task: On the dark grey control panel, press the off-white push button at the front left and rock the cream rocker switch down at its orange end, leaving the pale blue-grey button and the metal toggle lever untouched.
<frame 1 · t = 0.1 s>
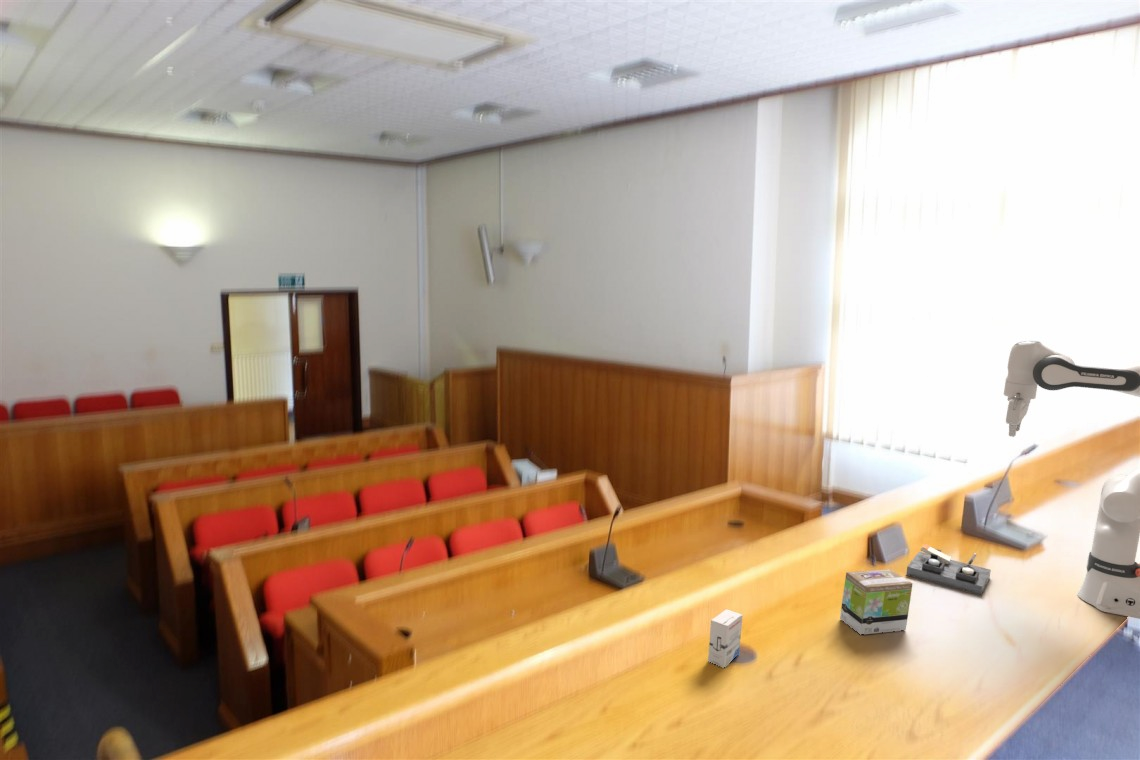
hand: (1013, 433, 246), 48 cm above the table, fingers open, 8 cm apart
button a: (967, 571, 242), point 5 cm above the table, slide at 0.0 cm
button b: (933, 562, 248), point 5 cm above the table, slide at 0.0 cm
toggle lever: (970, 562, 249), point 5 cm above the table, hinge at -20.0°
rocker: (935, 555, 255), point 5 cm above the table, hinge at -15.0°
panel: (947, 576, 250), on the table
tea box: (872, 626, 216), on the table
ink box: (723, 659, 196), on the table
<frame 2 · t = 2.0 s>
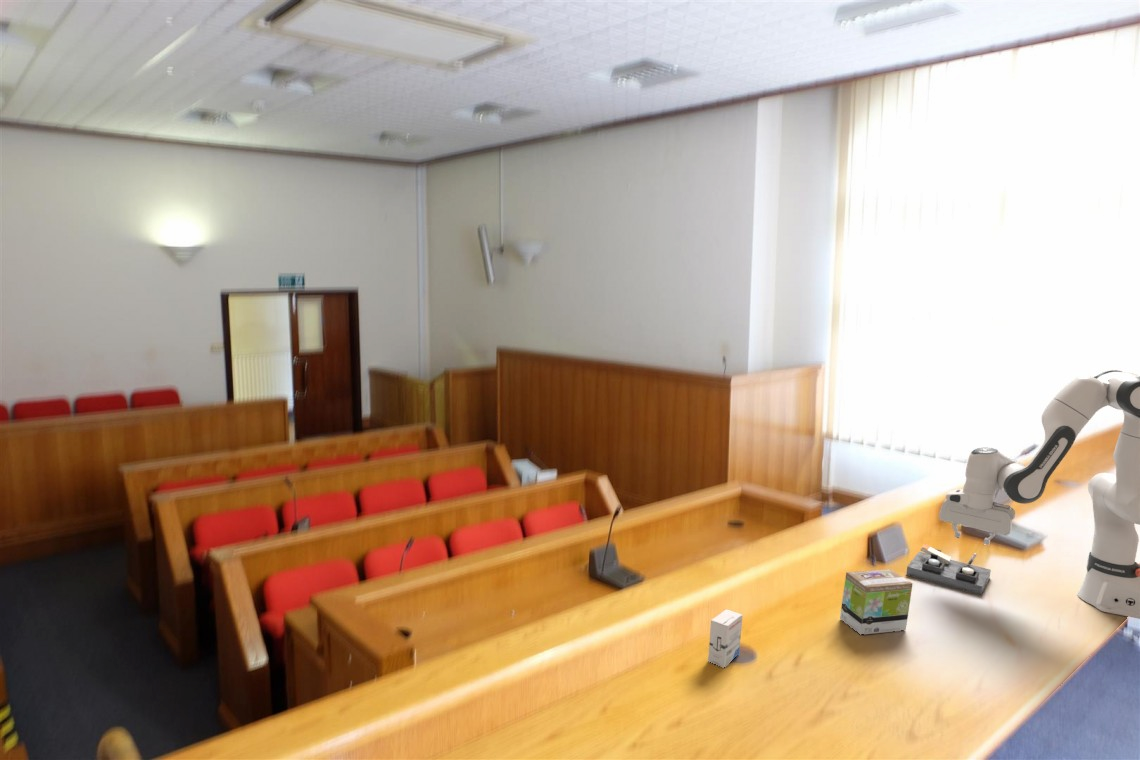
hand: (971, 540, 241), 15 cm above the table, fingers open, 7 cm apart
nothing on the table moved.
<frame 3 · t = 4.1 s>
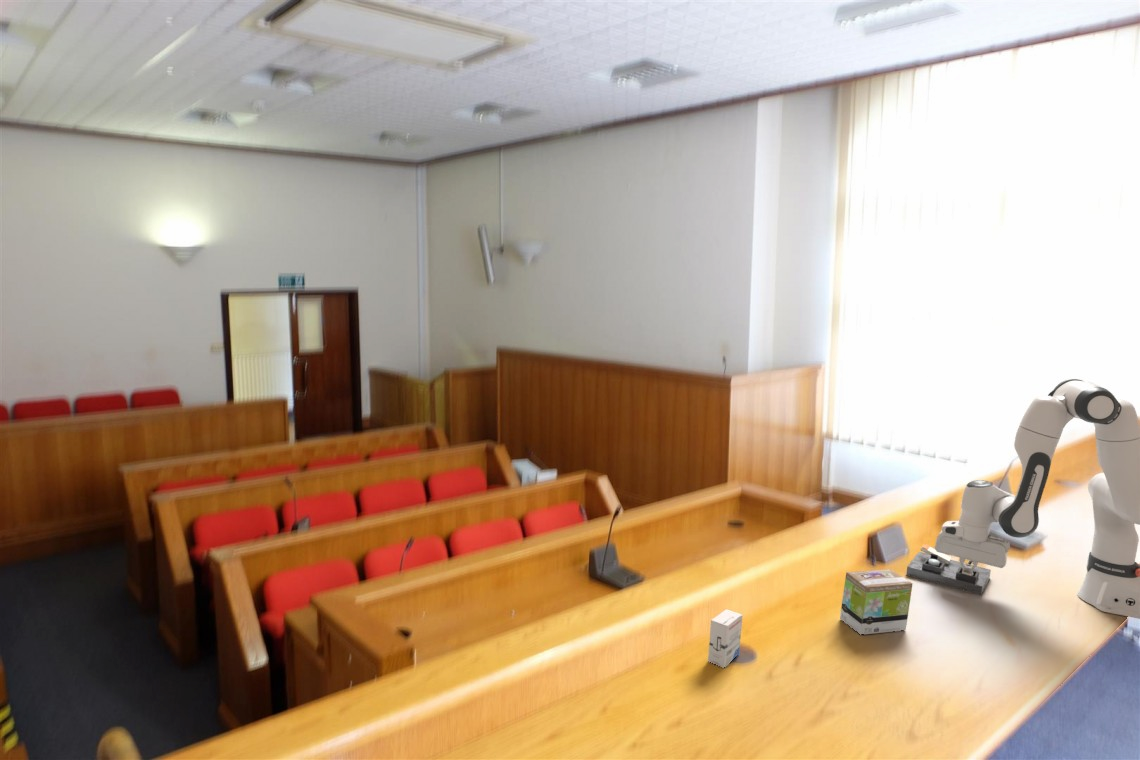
hand: (967, 572, 242), 5 cm above the table, fingers closed, pressing on button a
button a: (967, 574, 243), point 4 cm above the table, slide at 1.0 cm, touching gripper
everything else where it was.
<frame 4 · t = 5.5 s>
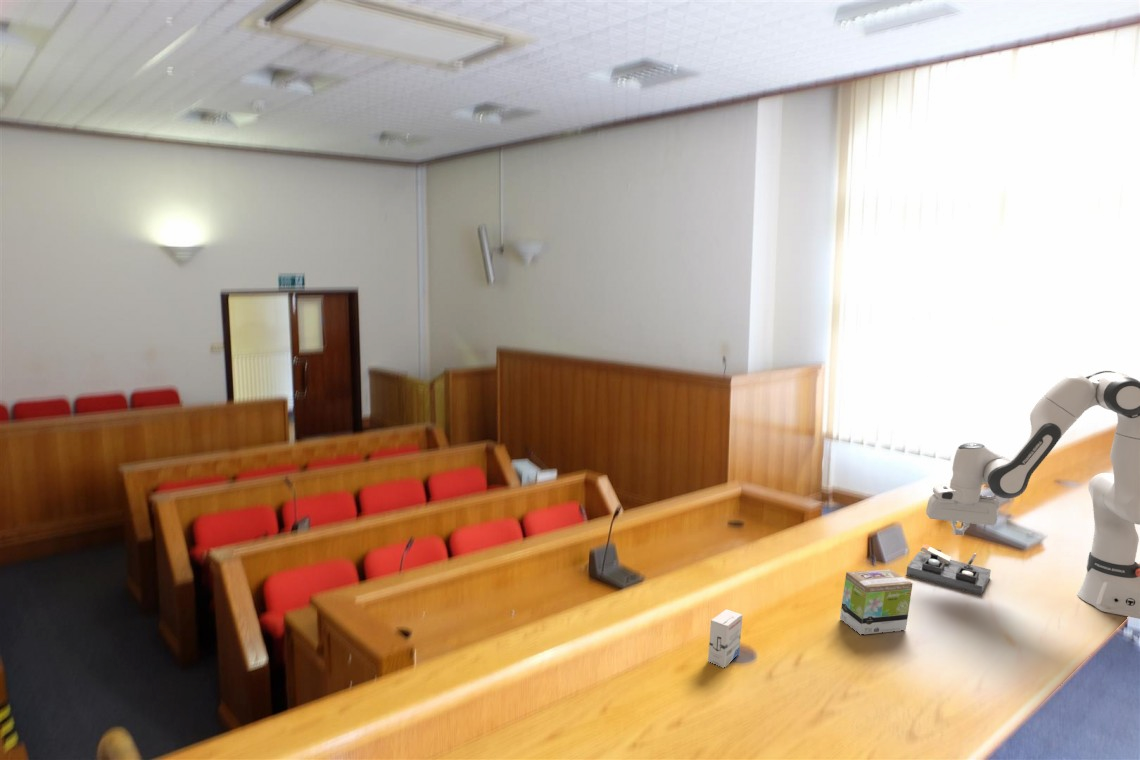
hand: (958, 534, 244), 16 cm above the table, fingers closed
button a: (967, 574, 243), point 4 cm above the table, slide at 1.1 cm
everything else where it was.
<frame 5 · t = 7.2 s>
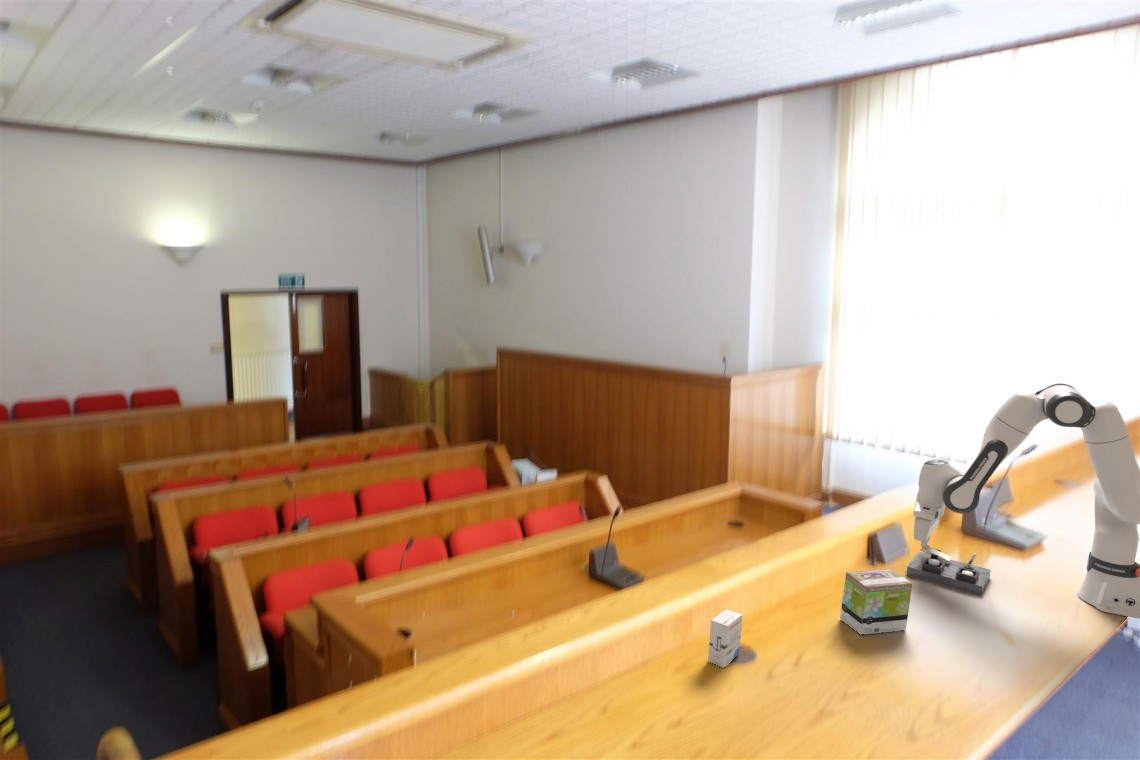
hand: (924, 546, 257), 7 cm above the table, fingers closed, pressing on rocker
rocker: (935, 555, 255), point 5 cm above the table, hinge at -14.7°, touching gripper
everything else where it was.
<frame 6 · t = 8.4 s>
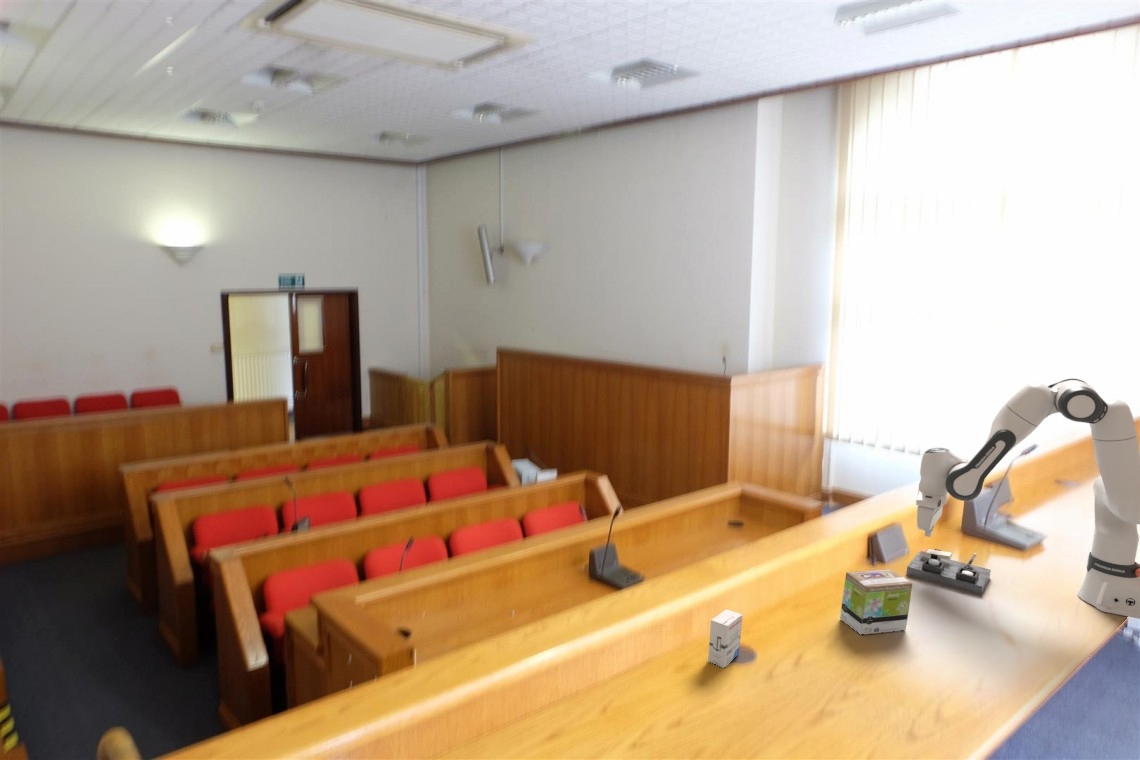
hand: (928, 535, 256), 11 cm above the table, fingers closed
rocker: (935, 555, 255), point 5 cm above the table, hinge at 6.1°
everything else where it was.
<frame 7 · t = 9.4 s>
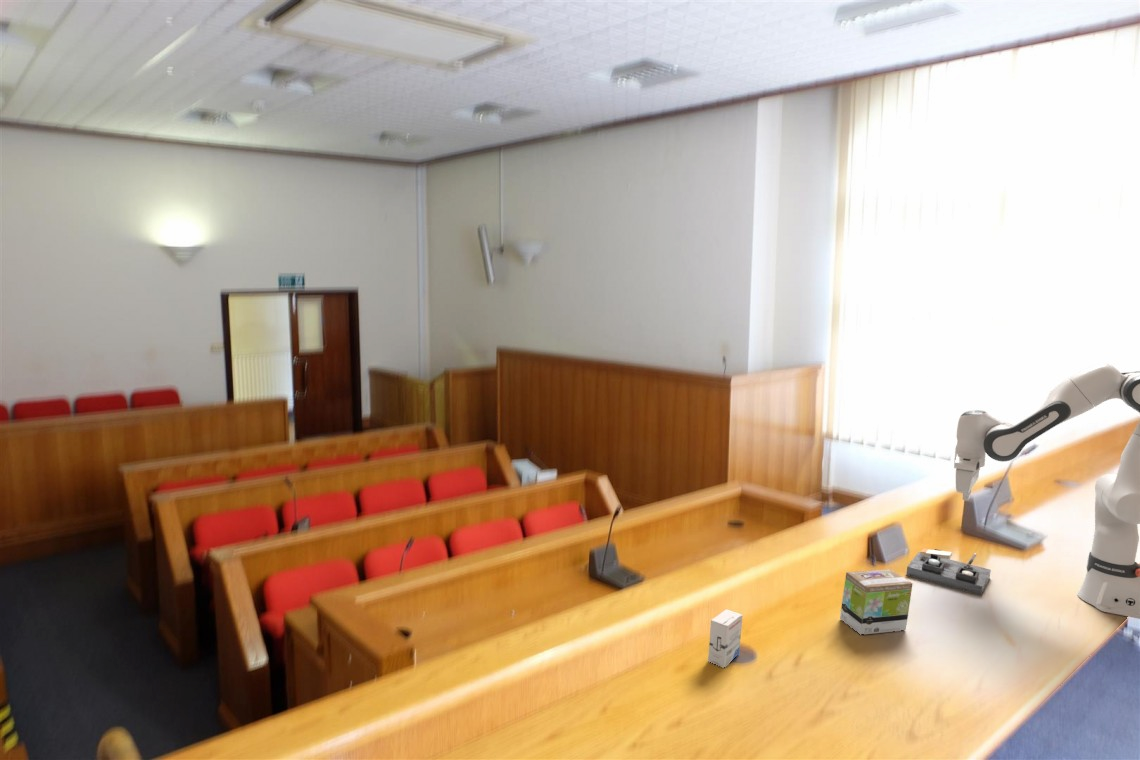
hand: (966, 499, 254), 24 cm above the table, fingers closed
rocker: (936, 555, 255), point 5 cm above the table, hinge at 9.0°
everything else where it was.
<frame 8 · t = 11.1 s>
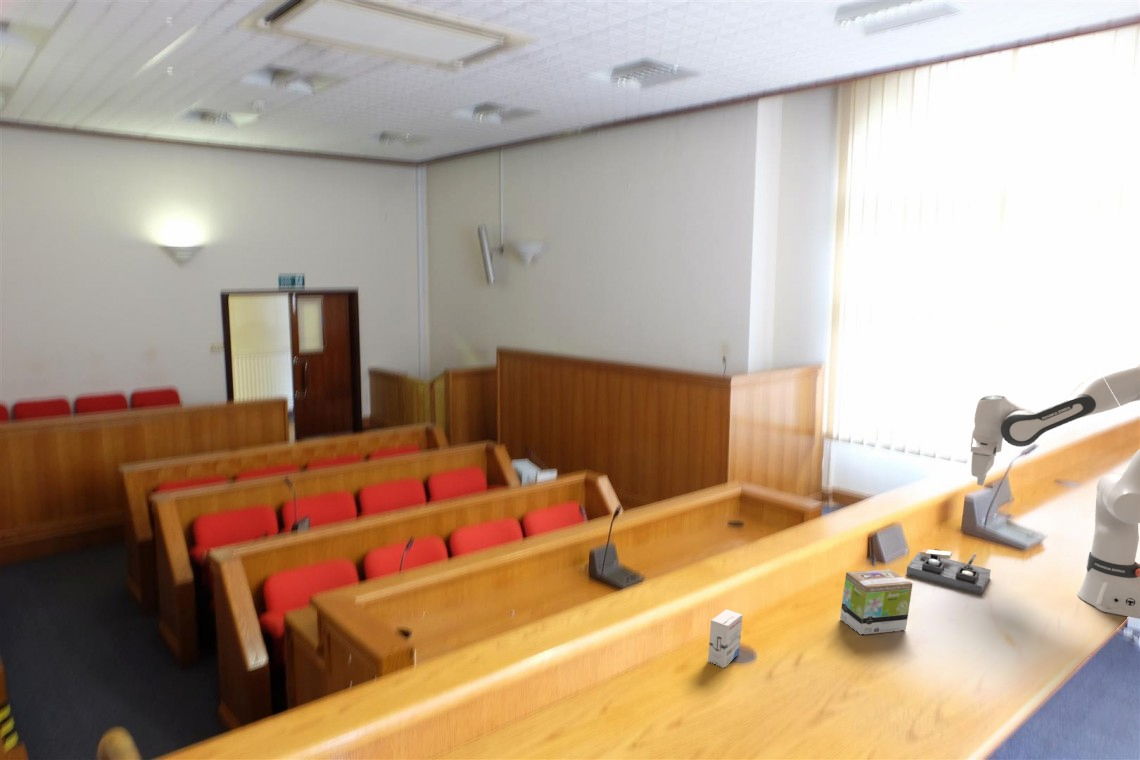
hand: (980, 484, 253), 29 cm above the table, fingers closed
rocker: (936, 555, 255), point 5 cm above the table, hinge at 10.1°
everything else where it was.
at the end: button a slide at 1.1 cm; rocker at +10° (first picture: -15°); button b slide at 0.0 cm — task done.
